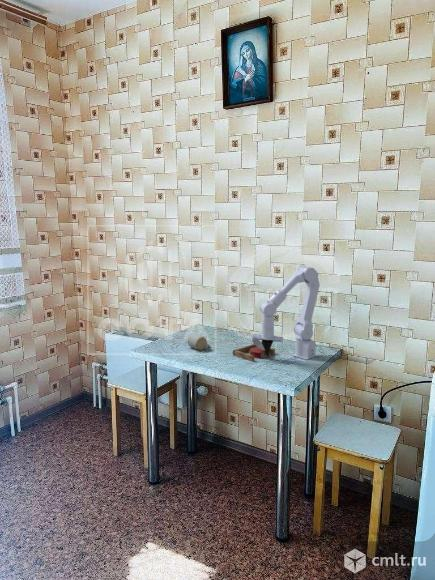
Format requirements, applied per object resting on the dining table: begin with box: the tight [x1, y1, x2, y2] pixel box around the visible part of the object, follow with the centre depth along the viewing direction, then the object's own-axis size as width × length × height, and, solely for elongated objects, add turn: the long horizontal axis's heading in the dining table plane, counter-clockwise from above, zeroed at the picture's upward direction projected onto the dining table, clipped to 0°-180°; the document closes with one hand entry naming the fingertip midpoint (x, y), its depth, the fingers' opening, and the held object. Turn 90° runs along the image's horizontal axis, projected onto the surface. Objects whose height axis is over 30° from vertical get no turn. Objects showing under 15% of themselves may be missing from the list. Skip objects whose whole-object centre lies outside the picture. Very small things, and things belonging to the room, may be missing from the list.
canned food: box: [249, 339, 271, 359], centre depth 217 cm, size 11×10×10 cm
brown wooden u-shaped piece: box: [232, 343, 276, 362], centre depth 218 cm, size 13×16×2 cm
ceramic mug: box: [187, 332, 210, 351], centre depth 228 cm, size 11×8×8 cm
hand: (267, 355), depth 211 cm, fingers closed
